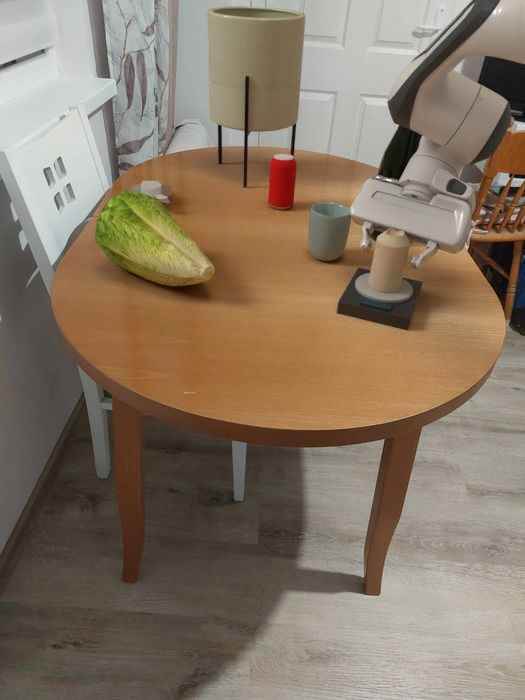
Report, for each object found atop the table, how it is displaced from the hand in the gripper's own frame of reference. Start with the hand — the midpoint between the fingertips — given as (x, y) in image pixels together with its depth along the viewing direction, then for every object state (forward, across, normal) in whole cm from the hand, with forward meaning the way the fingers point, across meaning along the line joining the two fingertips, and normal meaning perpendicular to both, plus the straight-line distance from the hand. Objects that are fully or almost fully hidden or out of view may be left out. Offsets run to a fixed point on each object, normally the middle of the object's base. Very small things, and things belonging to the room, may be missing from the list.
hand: (388, 258), depth 87 cm
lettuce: (+20, -34, -8) cm, 40 cm away
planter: (-22, -60, +34) cm, 72 cm away
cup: (0, -17, +12) cm, 20 cm away
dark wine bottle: (-14, -11, +26) cm, 31 cm away
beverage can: (-12, -40, +24) cm, 48 cm away
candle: (+4, 0, +4) cm, 6 cm away
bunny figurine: (+3, -63, +9) cm, 64 cm away
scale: (+6, 0, +6) cm, 8 cm away
